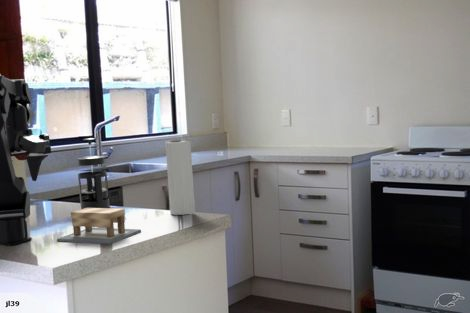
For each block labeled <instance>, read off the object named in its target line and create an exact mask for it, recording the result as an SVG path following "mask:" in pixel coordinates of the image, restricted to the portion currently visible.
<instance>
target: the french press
mask: <svg viewBox="0 0 470 313" xmlns="http://www.w3.org/2000/svg"><path fill="white" fill-rule="evenodd" d="M94 140H97V138H94V137H89V138H84V139H82V141H87V143H88V146H89V155H87V156H86V155H85V156H82V157H78V158H76V160H77V162H78V166H80V167H81V166H82V167H83V166H90V167H91V171H84V172H80V173H77V178H78V191H79V201H80V209H84V208H111V206H110V197H109V196H110V195H109V186H108V173H107V170H94V169H93V166H98V165H103V164H105V158H106V155H92V147H91V146H92V141H94ZM102 178H104V182H105V183H104V184H105V187H103V186H102V185H103V184H102ZM81 180H86V186H87V188H86V189H85V188H84V189H82V183H81V182H82V181H81ZM104 192H105V193H106V196H105V197H104V196H103V195H104V194H103V193H104ZM82 195H87V198H84V199H83V197H82ZM94 195H95V196H94Z"/></svg>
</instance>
